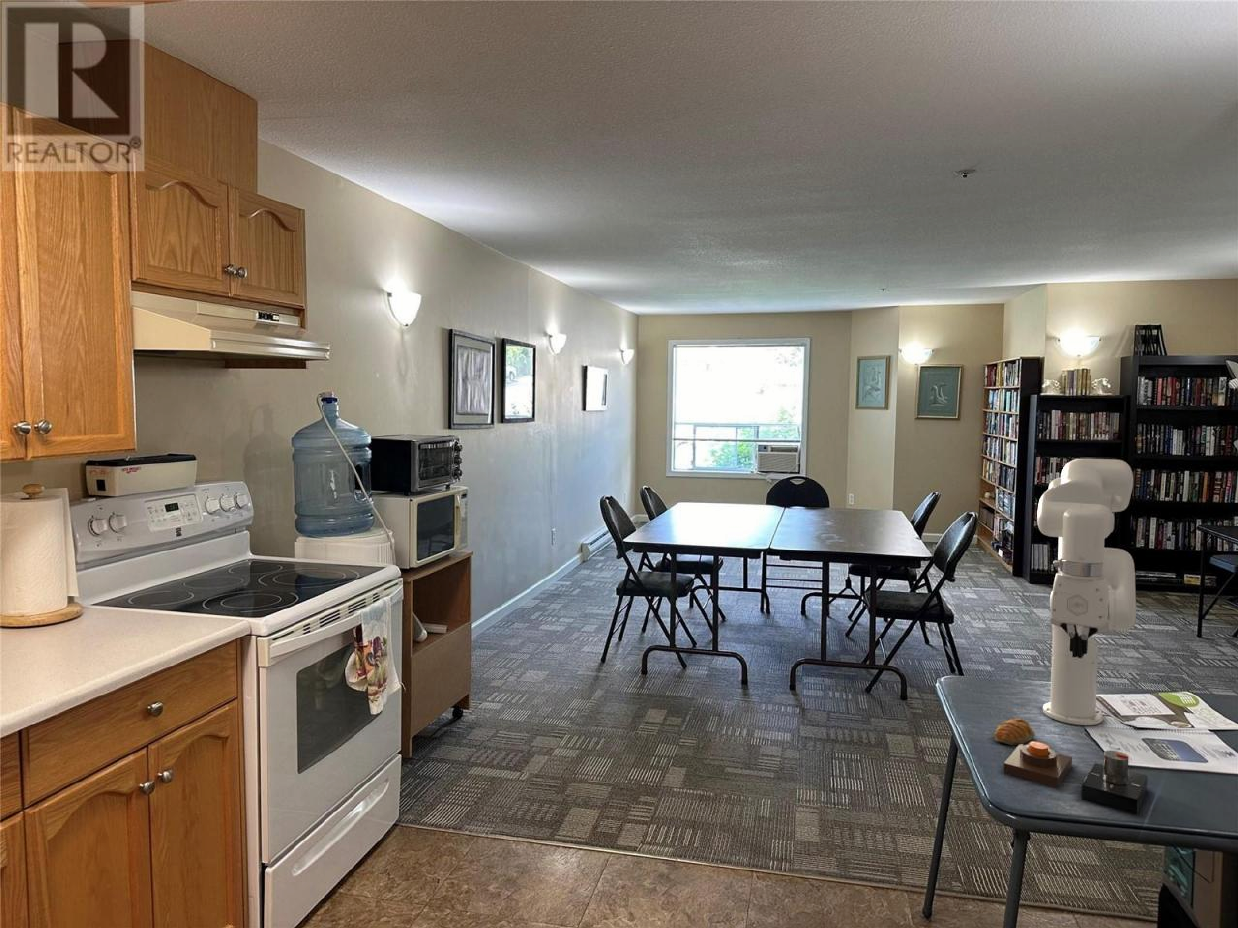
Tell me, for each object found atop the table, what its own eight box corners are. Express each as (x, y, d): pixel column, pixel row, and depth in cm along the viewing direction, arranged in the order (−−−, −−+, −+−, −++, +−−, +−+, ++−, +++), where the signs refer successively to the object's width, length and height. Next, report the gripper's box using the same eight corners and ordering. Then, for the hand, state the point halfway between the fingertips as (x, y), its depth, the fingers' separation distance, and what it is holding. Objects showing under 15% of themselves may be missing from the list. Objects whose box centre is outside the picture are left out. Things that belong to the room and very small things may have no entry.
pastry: (1016, 750, 177) (1016, 733, 177) (986, 740, 182) (986, 723, 182) (1036, 738, 183) (1036, 722, 183) (1006, 729, 188) (1006, 713, 188)
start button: (1031, 747, 170) (1031, 739, 170) (1050, 752, 168) (1050, 744, 168) (1026, 753, 167) (1026, 745, 167) (1045, 758, 165) (1046, 750, 165)
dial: (1101, 780, 157) (1102, 754, 156) (1105, 773, 160) (1106, 746, 159) (1125, 786, 154) (1127, 759, 154) (1128, 778, 157) (1130, 752, 157)
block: (1019, 753, 176) (1020, 735, 175) (1071, 766, 169) (1072, 748, 169) (1003, 773, 167) (1004, 754, 166) (1057, 788, 160) (1058, 768, 160)
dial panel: (1094, 776, 165) (1095, 761, 164) (1146, 790, 159) (1147, 774, 159) (1081, 799, 156) (1082, 783, 155) (1136, 815, 150) (1137, 798, 150)
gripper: (1037, 567, 169) (1034, 653, 171) (1120, 577, 159) (1116, 668, 161) (1046, 561, 175) (1043, 644, 176) (1127, 570, 165) (1123, 658, 167)
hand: (1078, 655), depth 169 cm, fingers closed
